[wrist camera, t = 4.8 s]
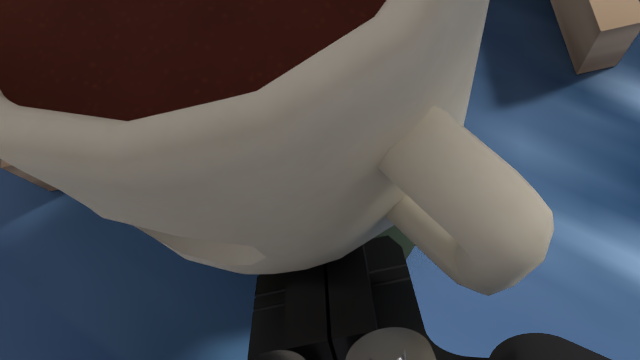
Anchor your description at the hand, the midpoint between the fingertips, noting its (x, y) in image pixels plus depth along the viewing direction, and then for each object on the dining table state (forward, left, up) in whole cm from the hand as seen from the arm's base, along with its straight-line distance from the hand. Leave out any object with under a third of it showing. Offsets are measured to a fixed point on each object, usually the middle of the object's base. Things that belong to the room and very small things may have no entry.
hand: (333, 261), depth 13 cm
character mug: (-2, -2, -5) cm, 6 cm away
